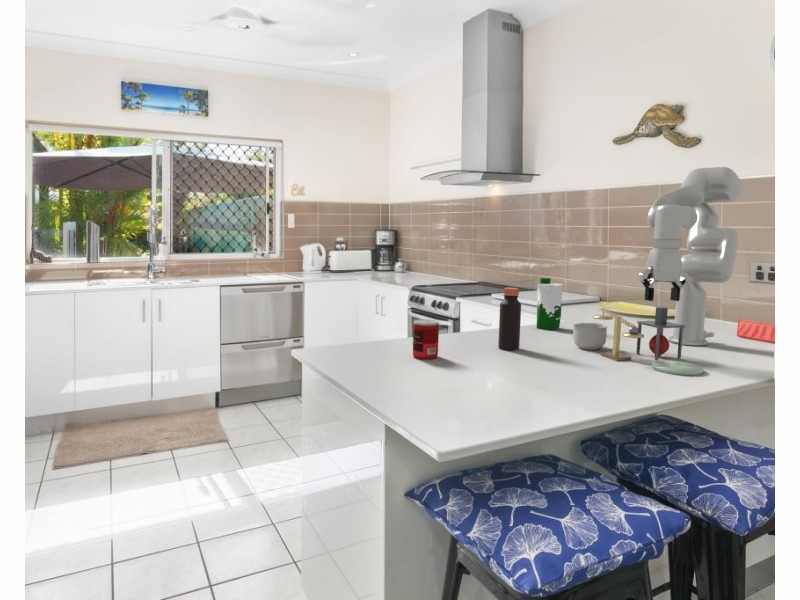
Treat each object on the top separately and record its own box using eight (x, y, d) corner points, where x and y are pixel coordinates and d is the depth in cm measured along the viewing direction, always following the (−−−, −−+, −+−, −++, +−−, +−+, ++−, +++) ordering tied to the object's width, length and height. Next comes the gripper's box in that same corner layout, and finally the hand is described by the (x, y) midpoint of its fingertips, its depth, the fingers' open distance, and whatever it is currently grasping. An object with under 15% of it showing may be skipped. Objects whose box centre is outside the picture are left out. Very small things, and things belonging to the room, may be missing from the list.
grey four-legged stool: (660, 352, 185) (663, 305, 183) (682, 359, 176) (686, 309, 174) (635, 353, 182) (638, 305, 180) (656, 360, 173) (659, 310, 171)
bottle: (498, 346, 191) (501, 287, 188) (519, 347, 189) (521, 287, 187) (497, 350, 184) (500, 289, 181) (519, 351, 183) (522, 289, 180)
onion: (659, 359, 175) (661, 333, 174) (644, 355, 180) (645, 330, 179) (672, 357, 178) (674, 332, 177) (656, 353, 183) (658, 329, 182)
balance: (587, 351, 185) (590, 307, 183) (603, 350, 187) (606, 306, 185) (629, 366, 165) (632, 316, 163) (646, 365, 167) (650, 316, 165)
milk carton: (540, 325, 233) (543, 277, 231) (562, 328, 229) (565, 278, 226) (533, 328, 226) (535, 278, 224) (555, 331, 221) (558, 280, 219)
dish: (679, 363, 170) (679, 359, 170) (713, 374, 157) (714, 370, 157) (642, 365, 166) (642, 361, 166) (675, 376, 154) (675, 372, 154)
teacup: (608, 352, 184) (609, 328, 183) (573, 350, 186) (574, 326, 185) (601, 344, 197) (603, 321, 196) (569, 342, 199) (570, 320, 198)
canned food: (440, 355, 175) (441, 320, 174) (433, 360, 167) (434, 324, 166) (417, 353, 177) (418, 318, 176) (409, 358, 170) (409, 322, 169)
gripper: (680, 246, 180) (675, 299, 182) (634, 244, 176) (630, 299, 178) (698, 246, 173) (693, 302, 175) (651, 244, 168) (646, 301, 170)
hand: (661, 300), depth 176 cm, fingers open, 9 cm apart
